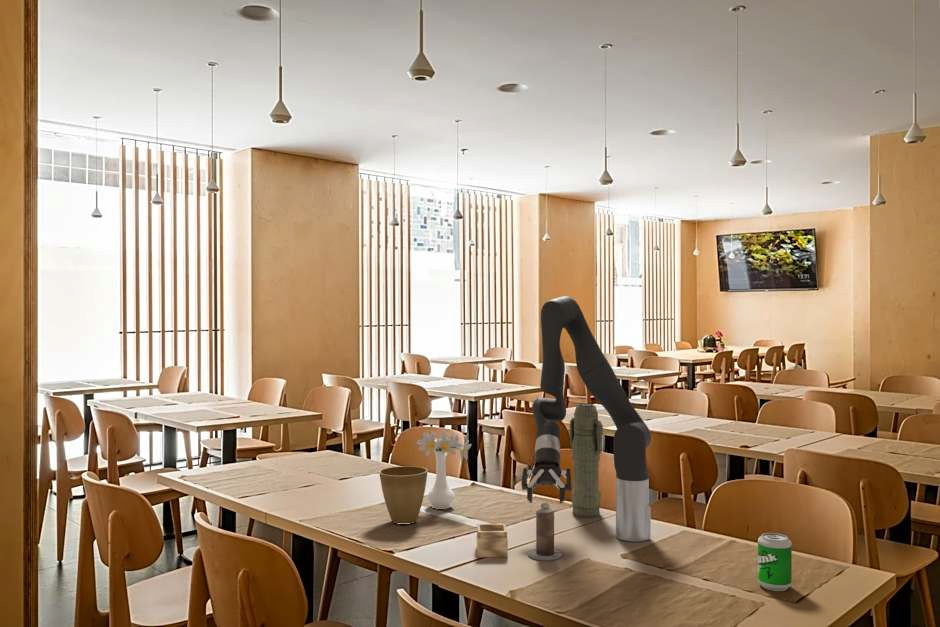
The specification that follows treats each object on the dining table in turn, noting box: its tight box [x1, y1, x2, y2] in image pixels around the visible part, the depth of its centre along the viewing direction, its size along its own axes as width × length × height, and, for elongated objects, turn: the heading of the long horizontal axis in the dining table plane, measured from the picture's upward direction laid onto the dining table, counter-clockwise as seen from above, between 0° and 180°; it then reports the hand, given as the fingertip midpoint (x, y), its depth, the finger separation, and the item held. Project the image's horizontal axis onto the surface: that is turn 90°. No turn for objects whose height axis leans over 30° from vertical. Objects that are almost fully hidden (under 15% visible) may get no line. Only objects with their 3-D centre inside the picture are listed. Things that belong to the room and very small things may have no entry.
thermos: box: [569, 403, 604, 518], centre depth 252 cm, size 9×12×35 cm
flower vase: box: [416, 430, 472, 510], centre depth 261 cm, size 13×18×25 cm
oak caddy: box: [476, 523, 509, 558], centre depth 214 cm, size 8×9×6 cm
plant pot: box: [378, 465, 428, 523], centre depth 244 cm, size 15×15×16 cm
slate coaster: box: [527, 548, 563, 562], centre depth 211 cm, size 9×9×1 cm
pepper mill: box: [535, 501, 555, 556], centre depth 211 cm, size 5×5×14 cm
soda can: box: [757, 532, 793, 592], centre depth 187 cm, size 8×8×12 cm
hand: (545, 501), depth 222 cm, fingers open, 8 cm apart
